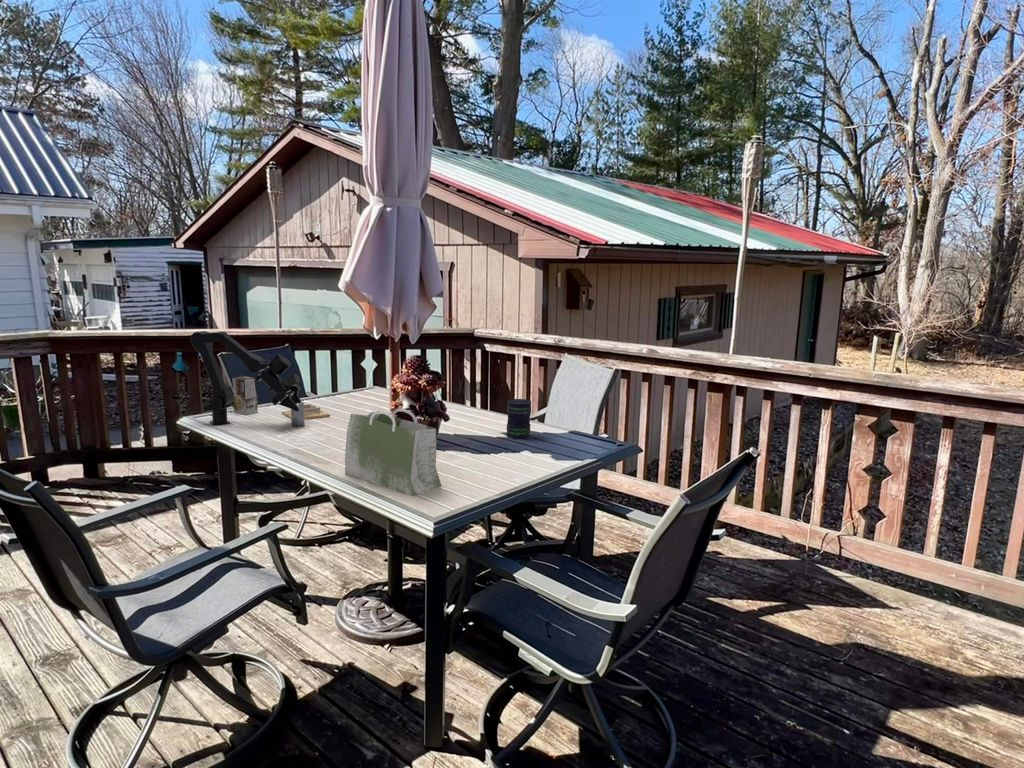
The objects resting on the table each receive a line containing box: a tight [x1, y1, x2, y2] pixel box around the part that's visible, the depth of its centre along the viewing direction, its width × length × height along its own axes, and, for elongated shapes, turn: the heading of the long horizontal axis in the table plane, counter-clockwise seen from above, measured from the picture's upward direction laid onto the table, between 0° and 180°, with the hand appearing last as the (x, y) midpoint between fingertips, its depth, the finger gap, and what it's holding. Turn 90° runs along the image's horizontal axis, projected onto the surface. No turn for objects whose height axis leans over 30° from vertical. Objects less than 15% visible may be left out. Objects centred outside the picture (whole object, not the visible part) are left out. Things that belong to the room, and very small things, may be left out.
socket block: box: [281, 403, 331, 420], centre depth 284 cm, size 16×16×4 cm
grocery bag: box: [344, 407, 442, 497], centre depth 200 cm, size 32×14×23 cm, turn 54°
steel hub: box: [290, 401, 305, 428], centre depth 263 cm, size 5×5×10 cm
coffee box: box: [232, 375, 259, 416], centre depth 285 cm, size 9×6×16 cm
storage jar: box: [506, 398, 532, 440], centre depth 259 cm, size 10×10×15 cm
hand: (300, 409), depth 263 cm, fingers closed on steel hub, 5 cm apart
